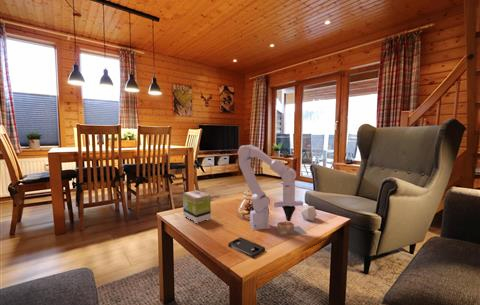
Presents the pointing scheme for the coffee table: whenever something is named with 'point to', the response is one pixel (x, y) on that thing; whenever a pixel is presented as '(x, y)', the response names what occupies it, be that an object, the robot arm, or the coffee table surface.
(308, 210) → the die
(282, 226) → the maple block
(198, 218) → the tea box
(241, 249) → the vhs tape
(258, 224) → the robot arm
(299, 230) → the slate mat
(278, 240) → the coffee table surface
